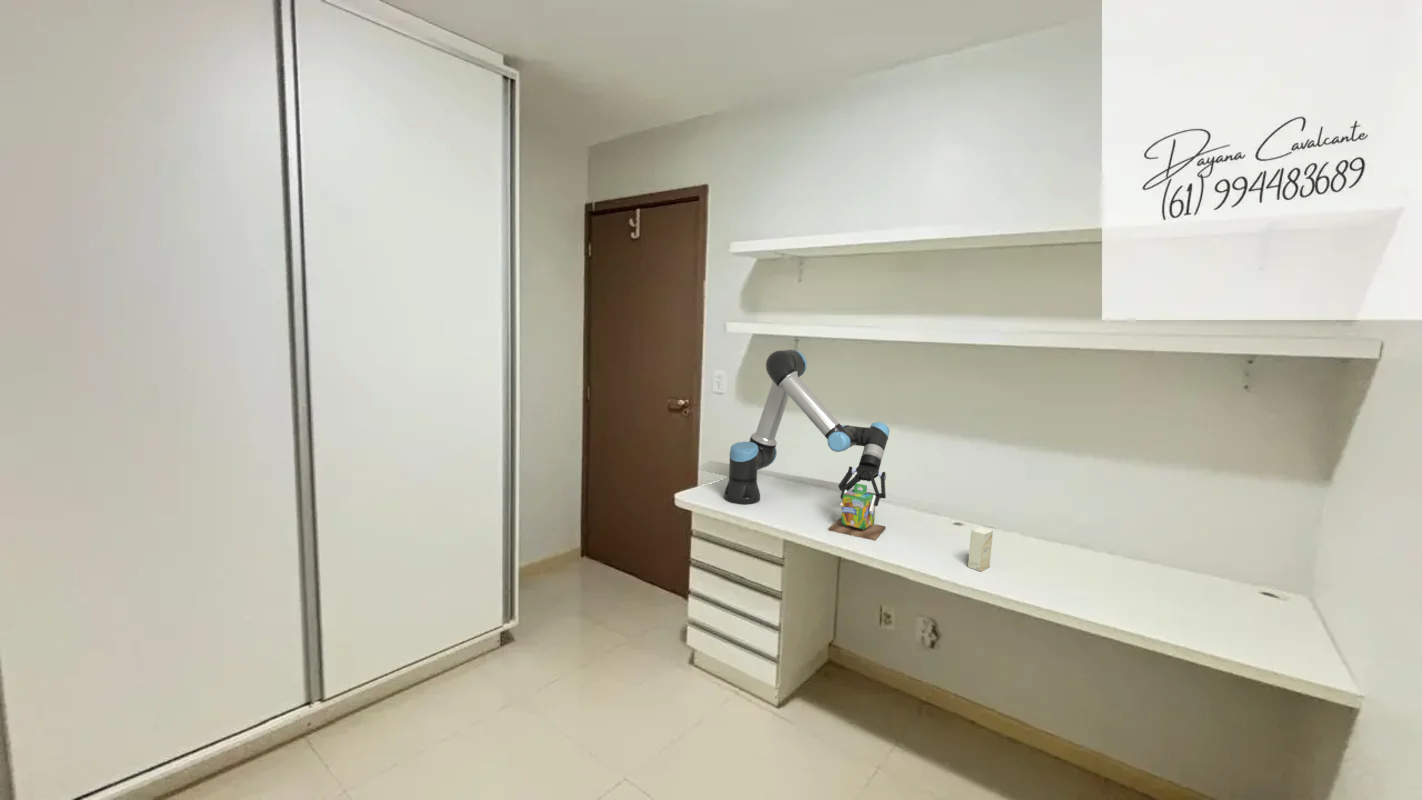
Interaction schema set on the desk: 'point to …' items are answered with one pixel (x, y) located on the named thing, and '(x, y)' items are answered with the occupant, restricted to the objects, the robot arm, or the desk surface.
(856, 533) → the walnut board
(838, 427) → the robot arm
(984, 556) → the skincare box
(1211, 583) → the desk surface
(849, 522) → the chalk box
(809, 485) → the desk surface
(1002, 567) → the desk surface
